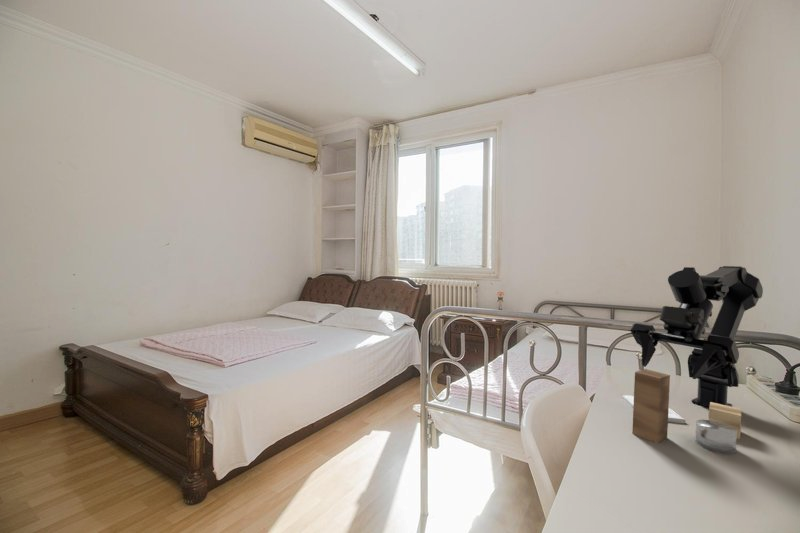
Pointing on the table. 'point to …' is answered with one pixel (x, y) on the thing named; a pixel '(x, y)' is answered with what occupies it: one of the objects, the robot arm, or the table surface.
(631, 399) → the external hard drive
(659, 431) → the walnut block
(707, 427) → the grey tin
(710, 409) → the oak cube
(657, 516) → the table surface
